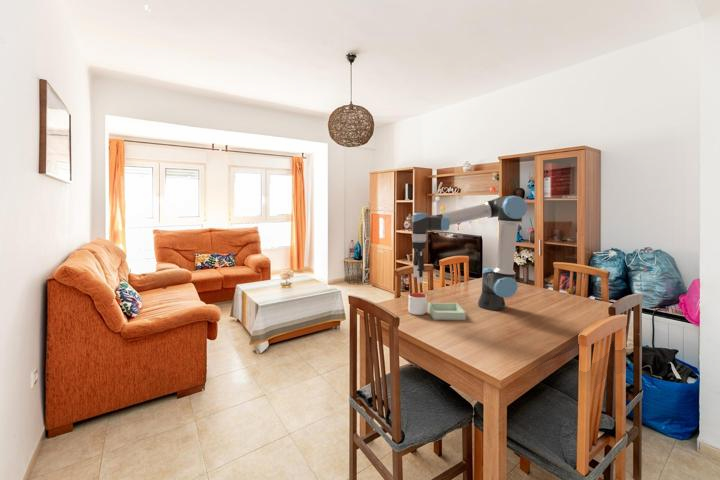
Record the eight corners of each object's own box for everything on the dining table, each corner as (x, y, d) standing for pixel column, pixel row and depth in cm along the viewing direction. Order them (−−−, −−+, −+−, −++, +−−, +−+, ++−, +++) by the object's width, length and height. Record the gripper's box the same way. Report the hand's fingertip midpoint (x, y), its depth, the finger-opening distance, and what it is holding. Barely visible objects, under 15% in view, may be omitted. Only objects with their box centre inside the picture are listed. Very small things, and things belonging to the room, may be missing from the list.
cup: (426, 316, 176) (427, 298, 175) (407, 315, 178) (408, 297, 177) (426, 310, 186) (427, 293, 184) (408, 309, 188) (409, 292, 186)
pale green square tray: (456, 309, 187) (456, 302, 186) (465, 320, 171) (465, 311, 170) (427, 309, 187) (427, 302, 186) (433, 319, 171) (434, 311, 170)
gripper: (408, 238, 190) (407, 274, 192) (416, 244, 165) (414, 285, 167) (421, 238, 190) (420, 274, 192) (430, 244, 165) (429, 285, 167)
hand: (418, 279), depth 180 cm, fingers open, 13 cm apart
